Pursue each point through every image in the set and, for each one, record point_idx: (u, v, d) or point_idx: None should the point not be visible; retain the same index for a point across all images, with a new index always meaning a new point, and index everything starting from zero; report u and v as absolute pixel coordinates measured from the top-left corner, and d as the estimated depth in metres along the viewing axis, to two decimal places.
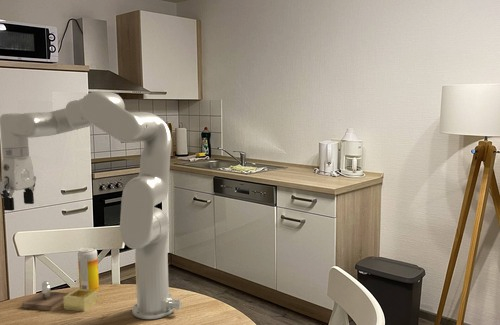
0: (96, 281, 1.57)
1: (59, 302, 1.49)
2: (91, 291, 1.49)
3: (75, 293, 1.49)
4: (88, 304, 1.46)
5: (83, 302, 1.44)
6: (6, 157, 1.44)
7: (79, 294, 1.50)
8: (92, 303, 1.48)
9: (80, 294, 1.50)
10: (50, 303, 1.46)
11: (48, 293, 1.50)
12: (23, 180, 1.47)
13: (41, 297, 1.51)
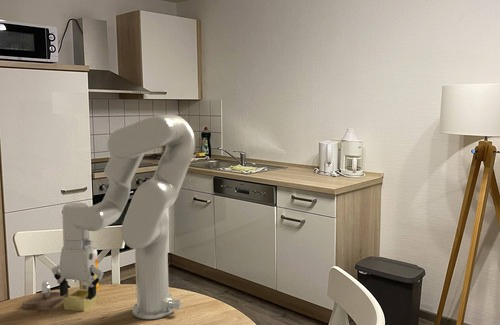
0: None
1: (59, 302, 1.49)
2: None
3: (75, 293, 1.49)
4: (88, 304, 1.46)
5: (83, 302, 1.44)
6: (86, 247, 1.45)
7: (79, 294, 1.50)
8: (92, 303, 1.48)
9: (80, 294, 1.50)
10: (50, 303, 1.46)
11: (48, 293, 1.50)
12: None
13: (41, 297, 1.51)
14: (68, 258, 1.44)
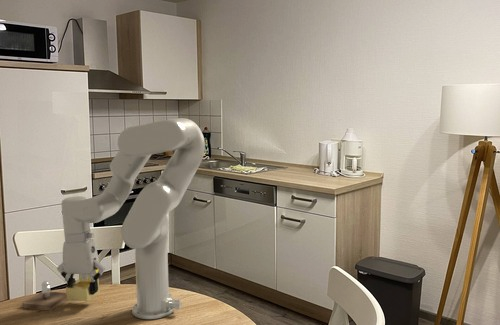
0: None
1: (59, 302, 1.49)
2: None
3: (77, 284, 1.48)
4: (90, 294, 1.45)
5: (86, 292, 1.43)
6: (88, 240, 1.44)
7: (81, 285, 1.50)
8: (95, 293, 1.48)
9: (82, 285, 1.50)
10: (50, 303, 1.46)
11: (48, 293, 1.50)
12: None
13: (41, 297, 1.51)
14: (70, 253, 1.44)
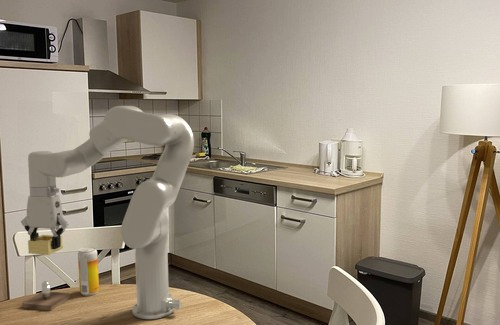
0: (96, 281, 1.57)
1: (59, 302, 1.49)
2: None
3: (41, 238, 1.49)
4: (52, 248, 1.46)
5: (47, 246, 1.44)
6: (52, 195, 1.45)
7: (45, 240, 1.51)
8: (57, 248, 1.49)
9: (46, 240, 1.51)
10: (50, 303, 1.46)
11: (48, 293, 1.50)
12: None
13: (41, 297, 1.51)
14: (34, 206, 1.45)
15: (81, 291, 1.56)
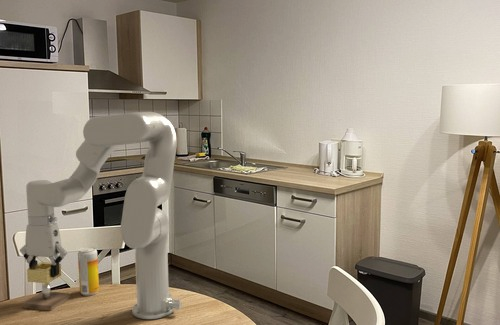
0: (96, 281, 1.57)
1: (59, 302, 1.49)
2: None
3: (39, 266, 1.51)
4: None
5: (46, 274, 1.45)
6: (51, 224, 1.46)
7: (44, 267, 1.52)
8: (56, 276, 1.50)
9: (45, 267, 1.52)
10: (50, 303, 1.46)
11: (48, 293, 1.50)
12: None
13: (41, 297, 1.51)
14: (33, 235, 1.46)
15: (81, 291, 1.56)
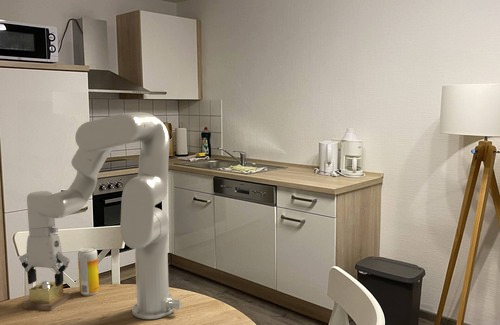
0: (96, 281, 1.57)
1: (59, 302, 1.49)
2: None
3: (41, 286, 1.51)
4: (53, 296, 1.48)
5: (48, 294, 1.46)
6: (51, 235, 1.47)
7: None
8: (58, 296, 1.51)
9: None
10: (50, 303, 1.46)
11: None
12: None
13: None
14: (34, 246, 1.46)
15: (81, 291, 1.56)
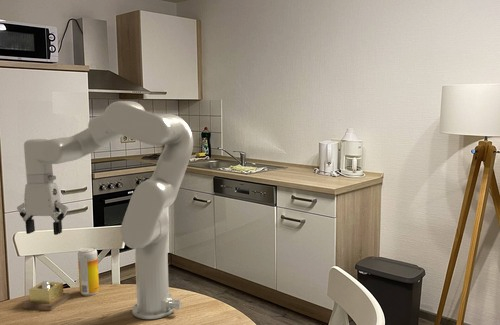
0: (96, 281, 1.57)
1: (59, 302, 1.49)
2: (57, 284, 1.52)
3: (41, 286, 1.51)
4: (53, 296, 1.48)
5: (48, 294, 1.46)
6: (49, 182, 1.45)
7: None
8: (58, 296, 1.51)
9: None
10: (50, 303, 1.46)
11: None
12: None
13: None
14: (32, 194, 1.45)
15: (81, 291, 1.56)
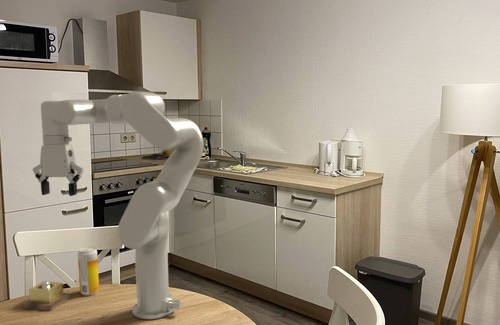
0: (96, 281, 1.57)
1: (59, 302, 1.49)
2: (57, 284, 1.52)
3: (41, 286, 1.51)
4: (53, 296, 1.48)
5: (48, 294, 1.46)
6: (65, 144, 1.46)
7: None
8: (58, 296, 1.51)
9: None
10: (50, 303, 1.46)
11: None
12: None
13: None
14: (48, 155, 1.46)
15: (81, 291, 1.56)
